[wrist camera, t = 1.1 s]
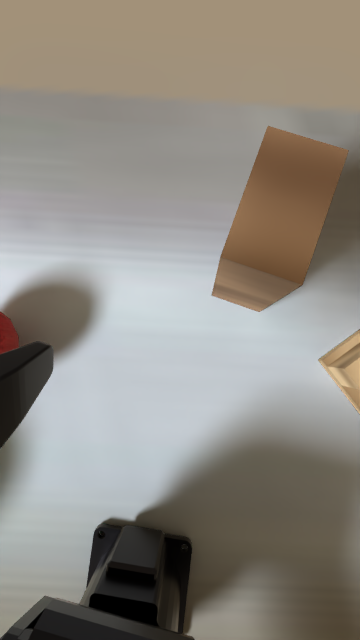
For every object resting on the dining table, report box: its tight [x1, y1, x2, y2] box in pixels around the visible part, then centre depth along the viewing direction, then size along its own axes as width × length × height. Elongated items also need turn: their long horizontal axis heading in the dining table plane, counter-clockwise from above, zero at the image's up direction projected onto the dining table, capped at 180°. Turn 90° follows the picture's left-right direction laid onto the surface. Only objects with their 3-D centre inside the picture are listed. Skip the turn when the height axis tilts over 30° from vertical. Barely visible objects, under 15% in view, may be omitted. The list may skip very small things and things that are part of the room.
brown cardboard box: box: [212, 126, 349, 312], centre depth 19 cm, size 6×4×10 cm, turn 160°
